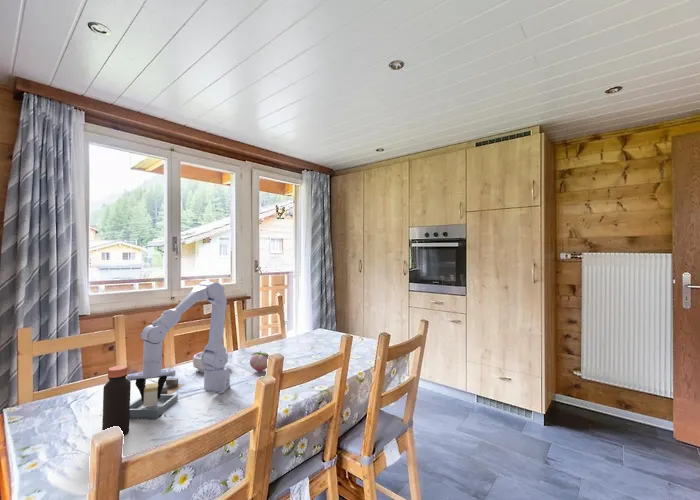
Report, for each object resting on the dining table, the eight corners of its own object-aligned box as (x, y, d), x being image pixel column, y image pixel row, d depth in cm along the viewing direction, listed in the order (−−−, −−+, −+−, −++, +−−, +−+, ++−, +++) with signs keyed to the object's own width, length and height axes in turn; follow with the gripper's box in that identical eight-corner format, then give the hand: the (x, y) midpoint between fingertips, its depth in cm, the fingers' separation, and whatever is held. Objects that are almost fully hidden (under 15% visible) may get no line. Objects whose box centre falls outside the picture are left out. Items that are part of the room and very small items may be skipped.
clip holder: (184, 386, 138) (184, 377, 138) (167, 400, 125) (167, 389, 125) (165, 386, 138) (165, 376, 138) (146, 399, 125) (146, 389, 125)
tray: (177, 402, 123) (177, 394, 123) (157, 419, 110) (157, 410, 110) (145, 402, 123) (145, 394, 123) (121, 418, 110) (121, 409, 110)
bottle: (98, 442, 96) (101, 372, 96) (105, 431, 102) (107, 365, 102) (126, 437, 98) (128, 369, 99) (131, 427, 105) (133, 363, 105)
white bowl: (188, 369, 159) (189, 352, 159) (220, 363, 169) (220, 347, 169) (198, 378, 147) (199, 360, 148) (232, 371, 158) (232, 354, 158)
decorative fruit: (272, 369, 161) (273, 348, 161) (266, 375, 153) (267, 353, 153) (253, 368, 162) (254, 347, 162) (247, 374, 153) (247, 352, 154)
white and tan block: (158, 399, 120) (159, 382, 120) (156, 404, 115) (157, 387, 115) (145, 401, 118) (146, 384, 118) (143, 406, 113) (144, 389, 114)
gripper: (176, 354, 123) (175, 391, 123) (130, 358, 117) (129, 397, 117) (175, 360, 117) (173, 399, 116) (126, 364, 111) (124, 405, 111)
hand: (151, 399), depth 116 cm, fingers closed on white and tan block, 4 cm apart
